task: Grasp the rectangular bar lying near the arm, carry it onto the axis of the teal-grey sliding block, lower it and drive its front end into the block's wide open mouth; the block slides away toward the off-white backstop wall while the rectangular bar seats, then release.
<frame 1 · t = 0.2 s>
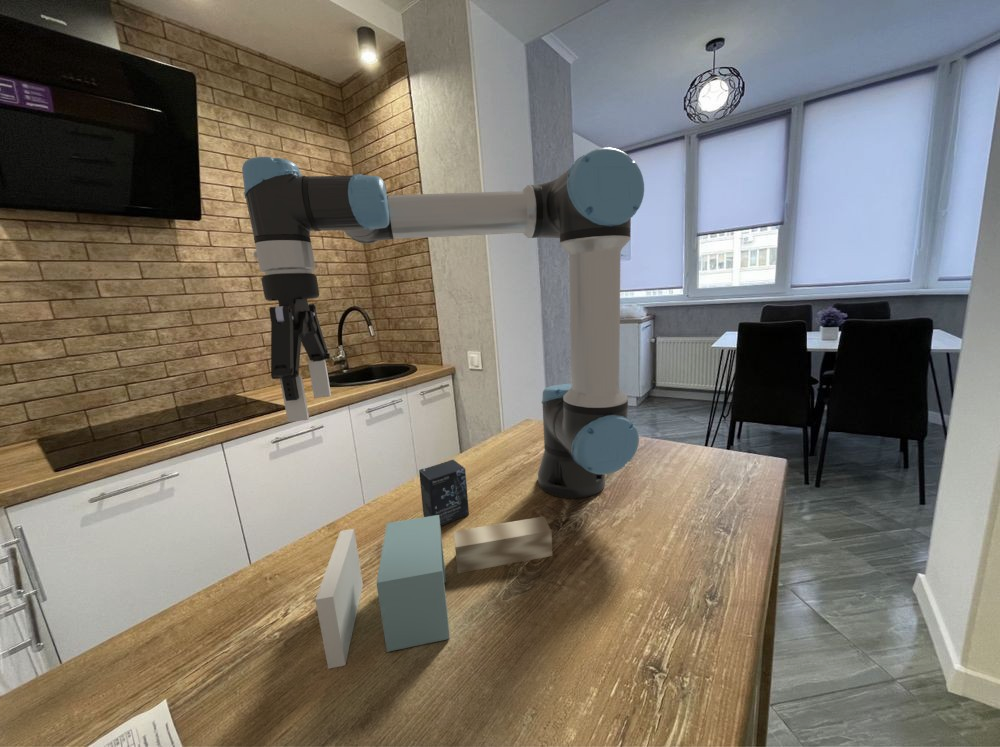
hand: (312, 407, 64), 28 cm above the table, fingers open, 13 cm apart
block: (415, 576, 56), point 5 cm above the table, slide at 0.0 cm
box: (446, 517, 80), on the table
rectangular bar: (503, 557, 67), on the table
wall: (347, 621, 55), on the table
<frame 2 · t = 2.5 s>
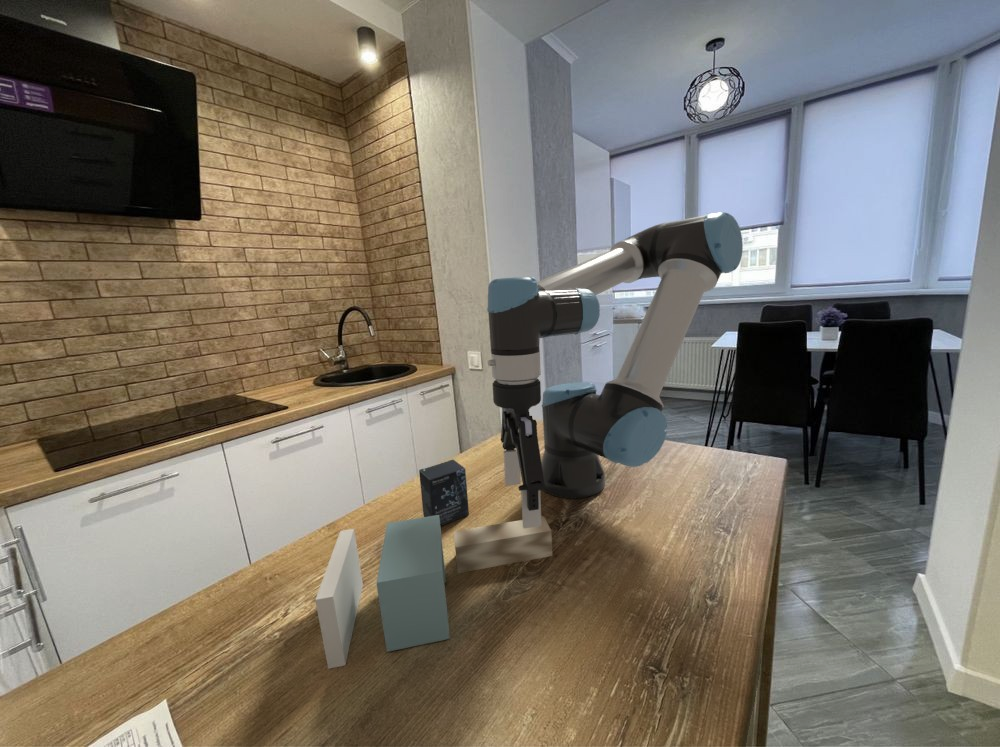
hand: (521, 503, 65), 9 cm above the table, fingers open, 13 cm apart
nothing on the table moved.
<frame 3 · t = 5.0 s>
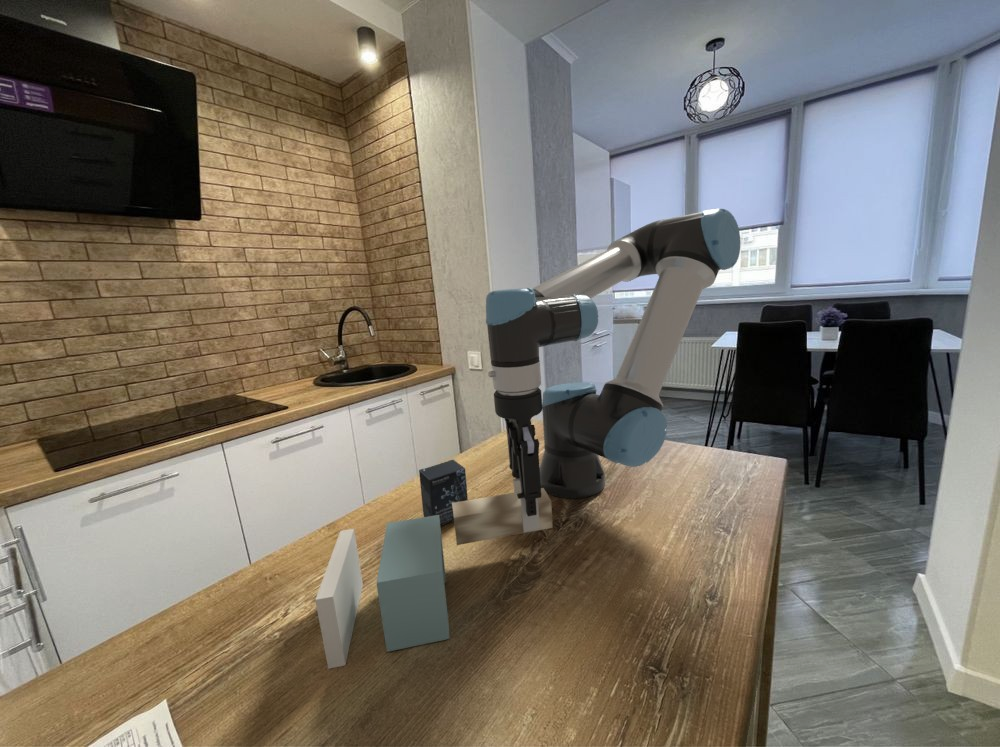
hand: (527, 520, 67), 6 cm above the table, fingers closed on rectangular bar, 4 cm apart
rectangular bar: (503, 528, 66), point 5 cm above the table, touching gripper
everything else where it was.
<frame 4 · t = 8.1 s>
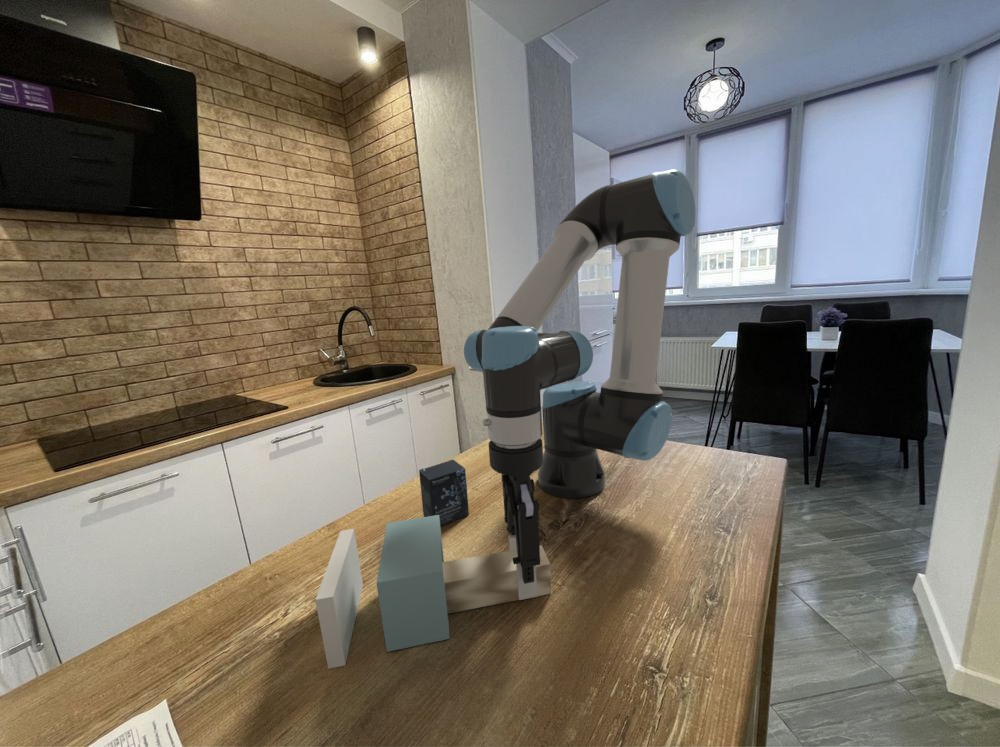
hand: (523, 583, 59), 1 cm above the table, fingers closed on rectangular bar, 4 cm apart
rectangular bar: (495, 592, 59), on the table, touching gripper
everything else where it was.
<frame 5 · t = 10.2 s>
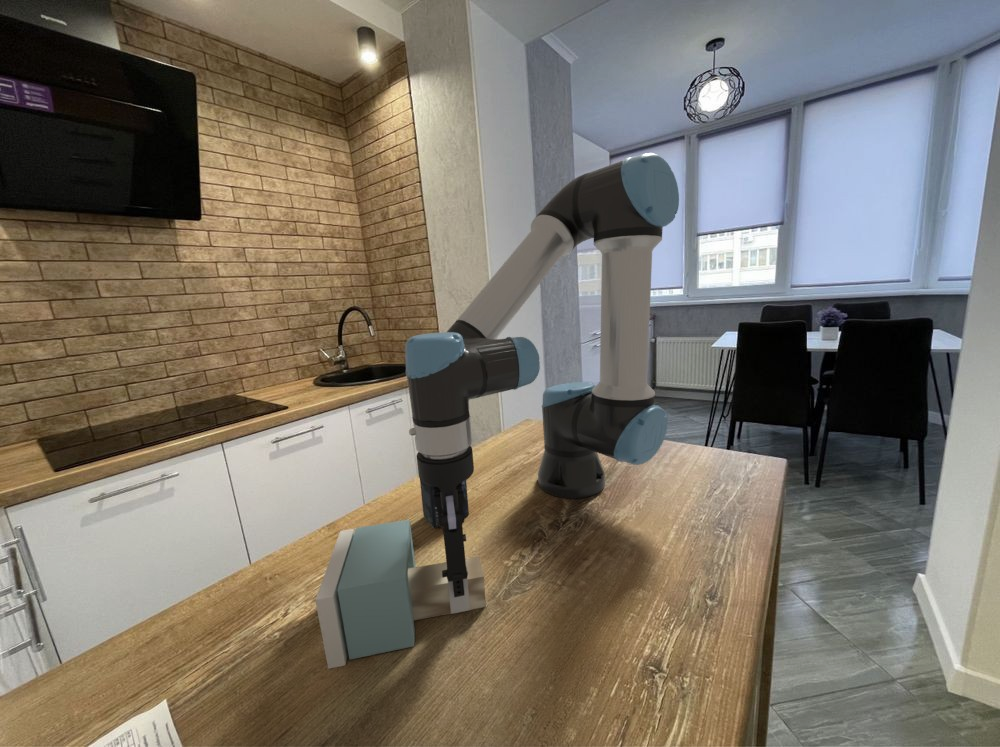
hand: (459, 596, 58), 1 cm above the table, fingers closed on rectangular bar, 4 cm apart
block: (382, 582, 55), point 5 cm above the table, slide at 4.6 cm
rectangular bar: (429, 605, 57), on the table, touching gripper
everything else where it was.
when the fingers open (1 cm above the table, at t = 11.2 s): rectangular bar stays where it is, on the table.
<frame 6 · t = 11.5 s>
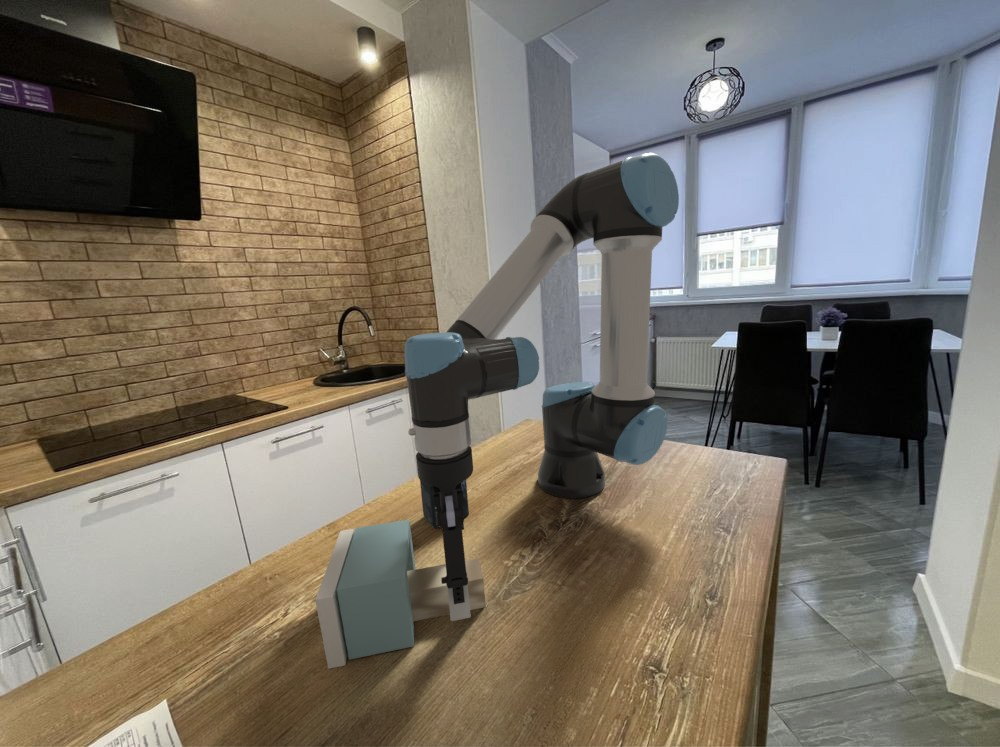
hand: (458, 592, 58), 1 cm above the table, fingers open, 8 cm apart
rectangular bar: (429, 607, 57), on the table
everything else where it was.
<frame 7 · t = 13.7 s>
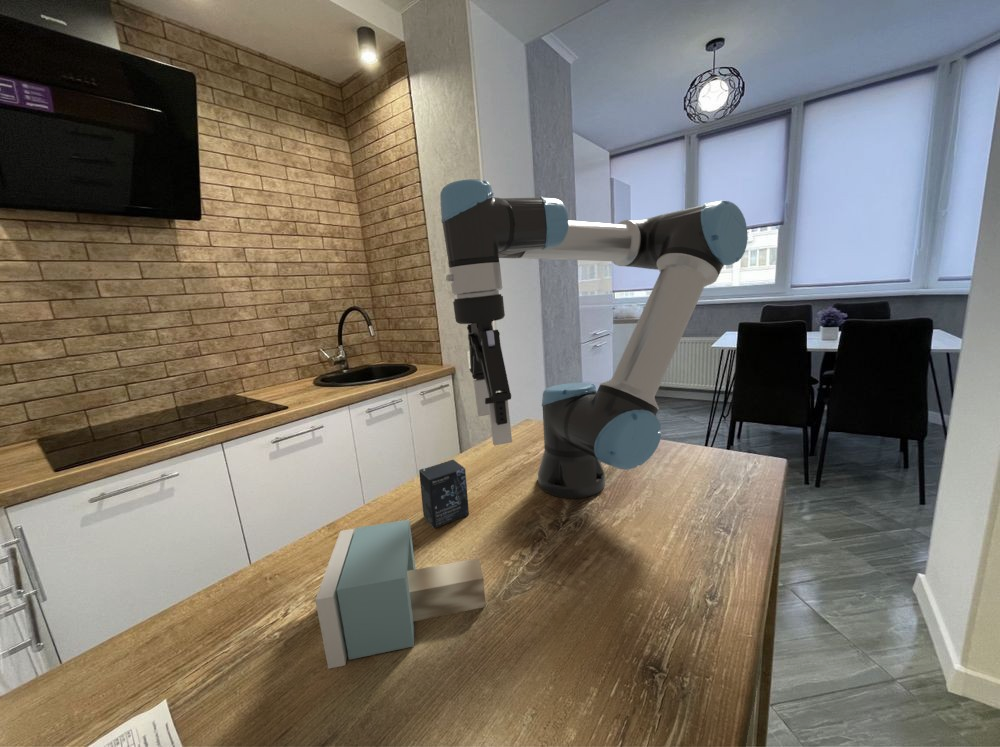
hand: (493, 427, 63), 23 cm above the table, fingers open, 13 cm apart
nothing on the table moved.
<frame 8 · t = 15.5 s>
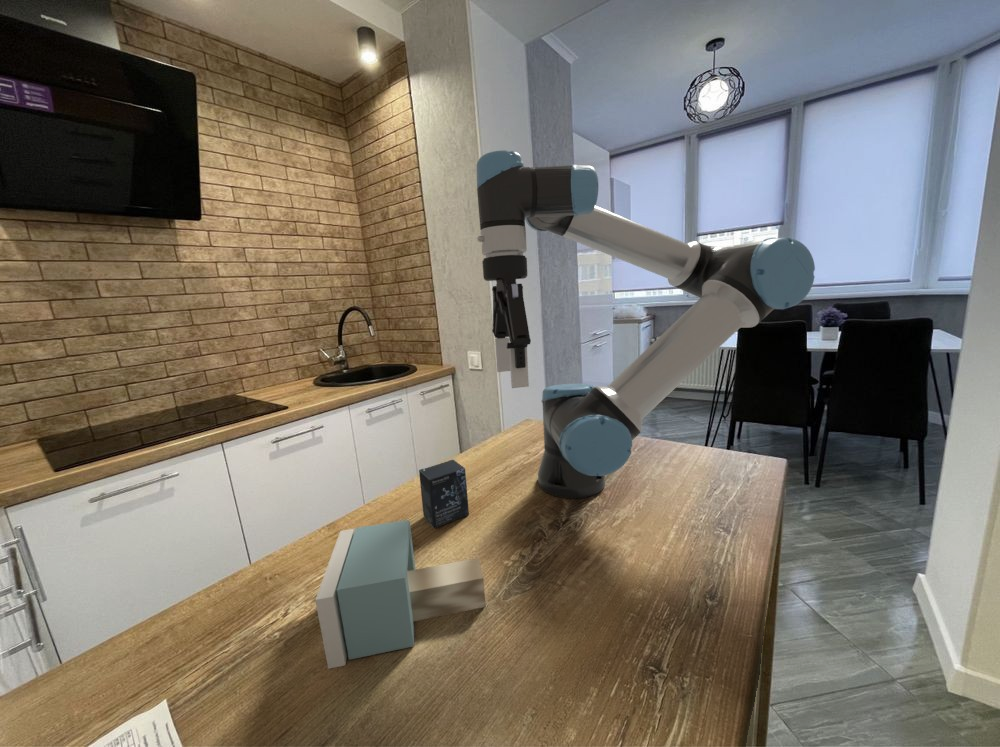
hand: (511, 378, 70), 29 cm above the table, fingers open, 13 cm apart
nothing on the table moved.
at the end: rectangular bar 0.2 cm from the target spot on the table beside the block, on the table; block slide at 4.6 cm; the gripper is holding nothing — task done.
